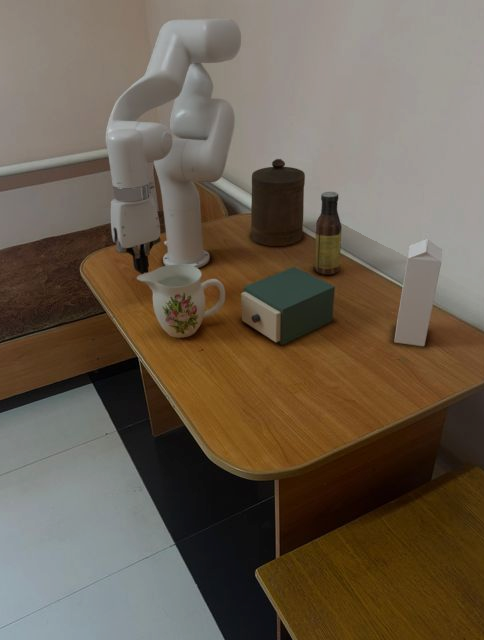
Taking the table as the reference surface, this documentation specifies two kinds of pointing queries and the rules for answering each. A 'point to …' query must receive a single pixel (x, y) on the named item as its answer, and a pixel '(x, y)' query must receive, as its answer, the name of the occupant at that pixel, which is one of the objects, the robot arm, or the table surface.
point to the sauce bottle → (328, 236)
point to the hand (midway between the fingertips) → (142, 271)
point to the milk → (418, 292)
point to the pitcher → (180, 298)
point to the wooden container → (277, 205)
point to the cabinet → (296, 301)
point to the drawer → (261, 316)
